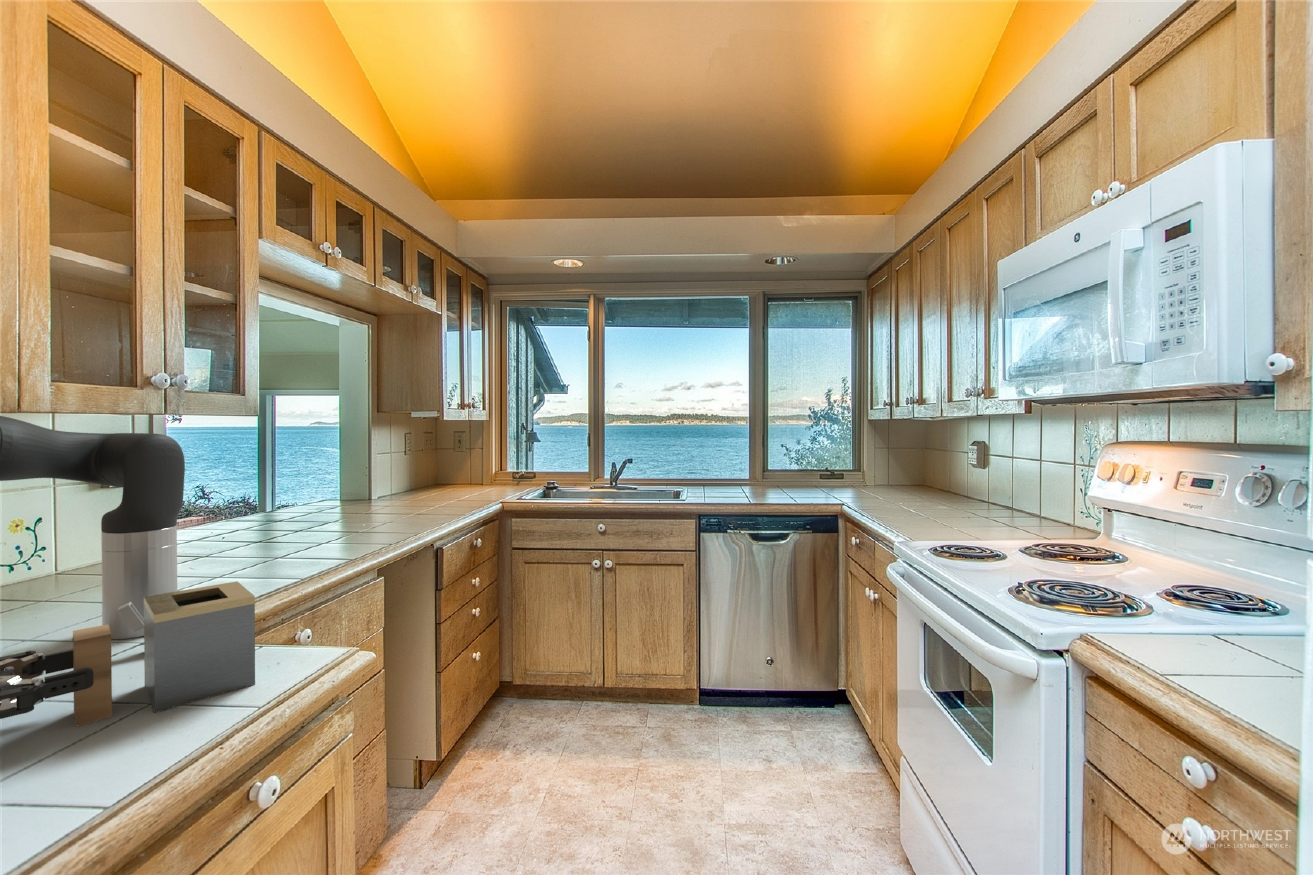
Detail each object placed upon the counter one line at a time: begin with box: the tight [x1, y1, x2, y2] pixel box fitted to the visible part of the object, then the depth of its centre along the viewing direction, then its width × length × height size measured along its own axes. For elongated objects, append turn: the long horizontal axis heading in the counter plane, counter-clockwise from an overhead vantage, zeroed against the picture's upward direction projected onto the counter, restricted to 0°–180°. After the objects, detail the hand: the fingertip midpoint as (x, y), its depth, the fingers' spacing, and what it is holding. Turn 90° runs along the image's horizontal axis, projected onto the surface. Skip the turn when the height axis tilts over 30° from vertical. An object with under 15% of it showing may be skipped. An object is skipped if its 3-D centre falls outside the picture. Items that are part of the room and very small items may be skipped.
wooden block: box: [72, 624, 113, 728], centre depth 65 cm, size 4×3×10 cm, turn 49°
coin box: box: [143, 581, 256, 714], centre depth 73 cm, size 10×10×12 cm
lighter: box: [118, 602, 144, 632], centre depth 83 cm, size 7×2×8 cm, turn 127°
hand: (91, 665), depth 65 cm, fingers open, 8 cm apart
